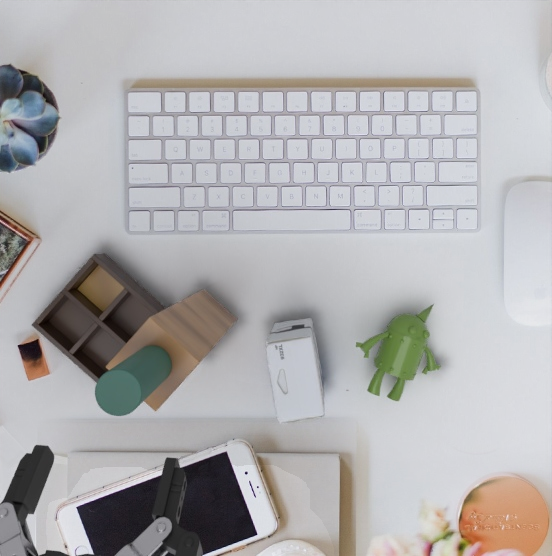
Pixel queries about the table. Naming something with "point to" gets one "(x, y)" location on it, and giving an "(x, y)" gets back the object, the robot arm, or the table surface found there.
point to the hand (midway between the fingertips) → (109, 455)
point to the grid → (96, 315)
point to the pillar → (180, 339)
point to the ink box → (295, 371)
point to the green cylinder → (132, 380)
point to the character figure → (400, 351)
